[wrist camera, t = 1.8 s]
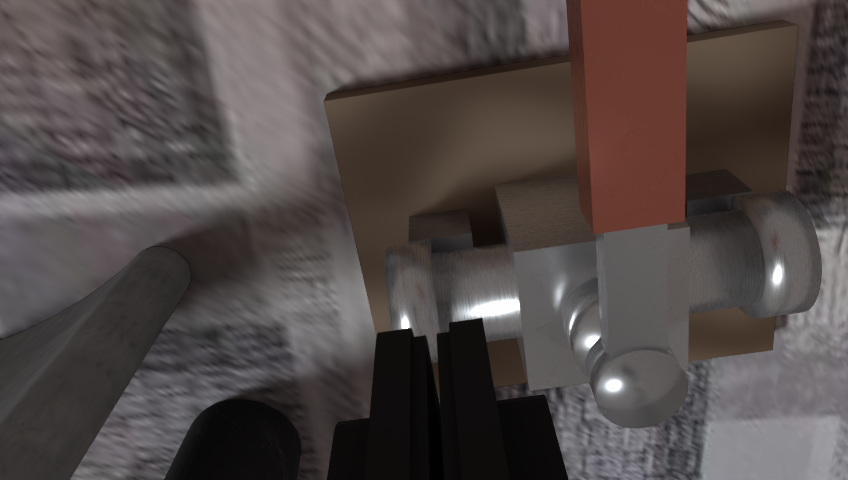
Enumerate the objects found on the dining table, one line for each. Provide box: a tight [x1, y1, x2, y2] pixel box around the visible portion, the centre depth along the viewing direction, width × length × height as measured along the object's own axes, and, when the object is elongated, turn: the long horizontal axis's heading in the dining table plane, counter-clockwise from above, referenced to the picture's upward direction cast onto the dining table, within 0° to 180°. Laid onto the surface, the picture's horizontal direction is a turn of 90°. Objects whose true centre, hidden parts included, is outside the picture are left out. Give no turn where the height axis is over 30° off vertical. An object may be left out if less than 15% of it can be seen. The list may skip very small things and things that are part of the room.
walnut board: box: [324, 20, 798, 395], centre depth 36 cm, size 18×22×2 cm
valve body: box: [385, 169, 822, 391], centre depth 31 cm, size 7×18×10 cm, turn 99°
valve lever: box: [566, 0, 688, 428], centre depth 22 cm, size 15×3×2 cm, turn 9°
